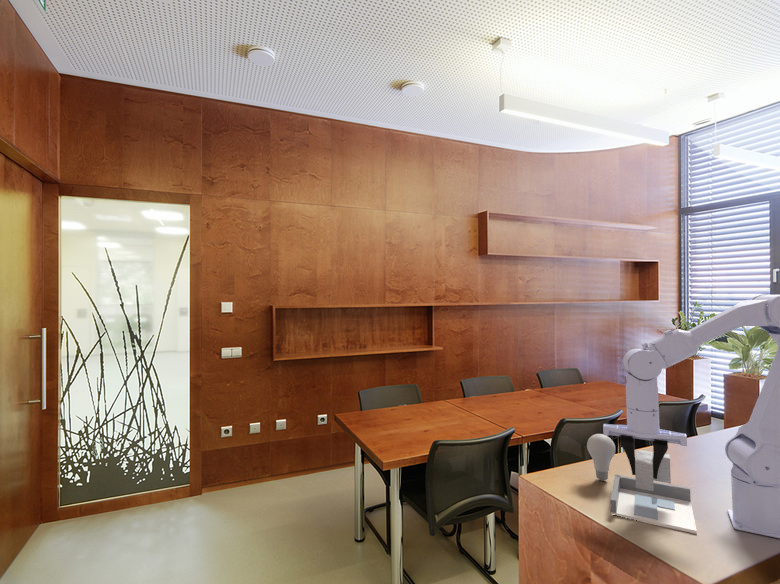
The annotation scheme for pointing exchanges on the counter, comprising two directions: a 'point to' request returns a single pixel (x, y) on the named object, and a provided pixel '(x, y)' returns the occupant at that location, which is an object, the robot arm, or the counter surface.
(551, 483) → the counter surface
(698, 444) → the counter surface
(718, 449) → the counter surface
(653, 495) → the white tray
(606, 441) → the lightbulb
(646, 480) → the bracket
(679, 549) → the counter surface
